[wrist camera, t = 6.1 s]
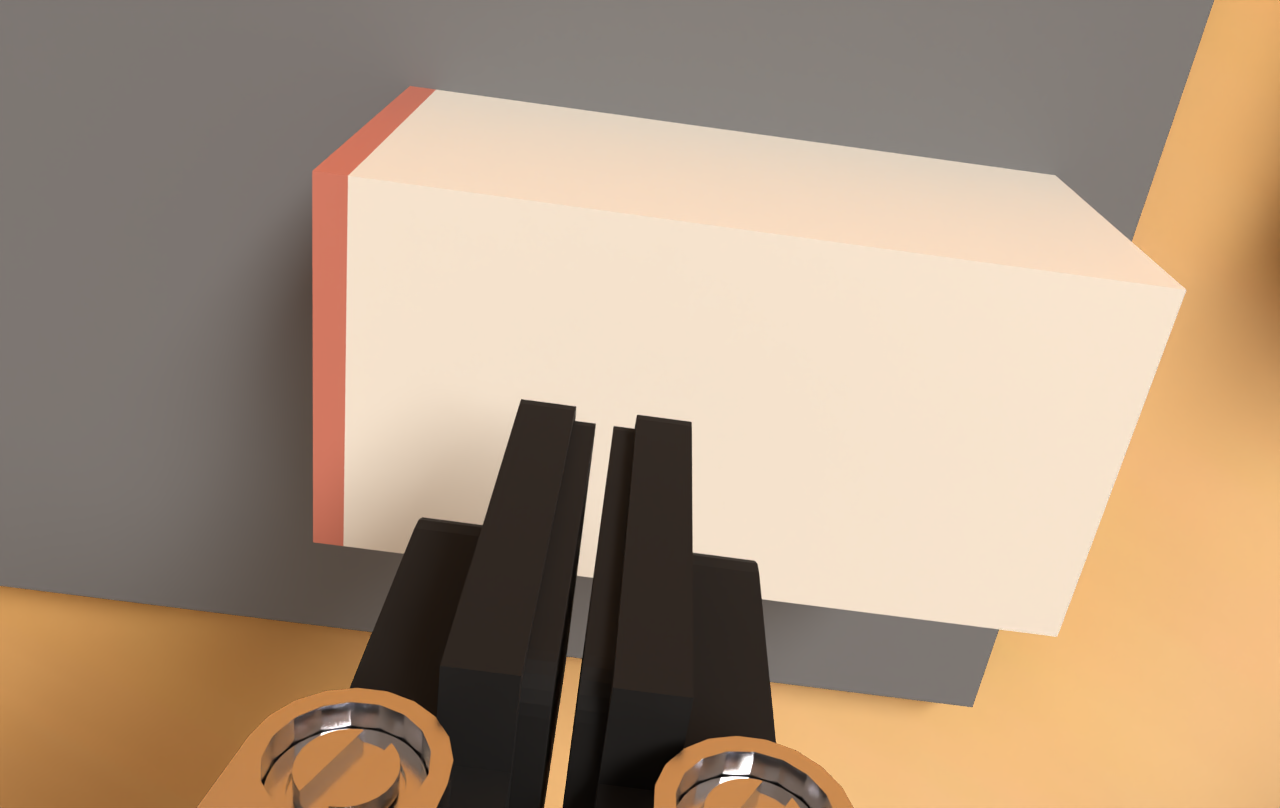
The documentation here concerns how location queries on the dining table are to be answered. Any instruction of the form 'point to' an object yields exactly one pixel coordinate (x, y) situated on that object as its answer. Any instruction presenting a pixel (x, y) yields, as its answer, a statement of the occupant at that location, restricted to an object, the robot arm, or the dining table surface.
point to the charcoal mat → (282, 244)
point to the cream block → (734, 345)
